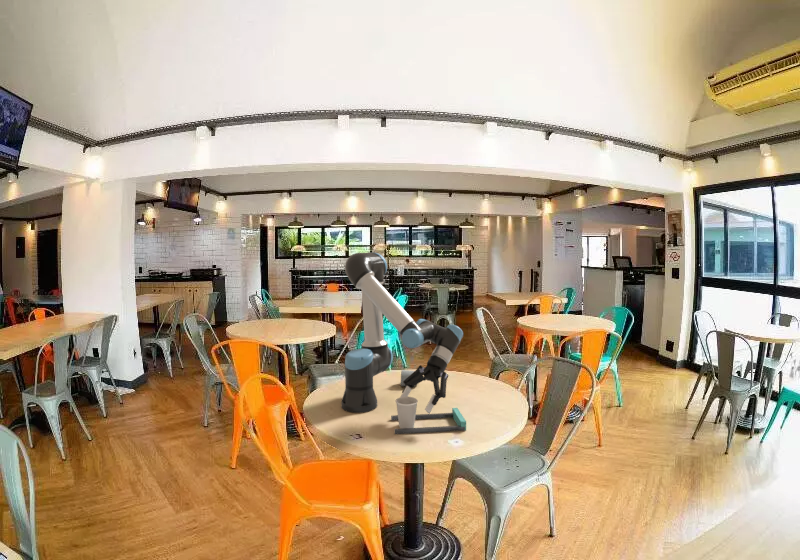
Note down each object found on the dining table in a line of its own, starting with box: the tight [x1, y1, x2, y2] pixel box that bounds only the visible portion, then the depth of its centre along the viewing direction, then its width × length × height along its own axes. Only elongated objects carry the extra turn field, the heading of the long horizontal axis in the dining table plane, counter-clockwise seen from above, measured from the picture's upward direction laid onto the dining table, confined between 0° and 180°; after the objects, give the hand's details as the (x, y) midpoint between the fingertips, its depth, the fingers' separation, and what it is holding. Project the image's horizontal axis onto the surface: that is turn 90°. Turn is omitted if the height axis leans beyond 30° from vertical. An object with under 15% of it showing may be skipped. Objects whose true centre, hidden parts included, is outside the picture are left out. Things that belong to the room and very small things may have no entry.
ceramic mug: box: [400, 369, 418, 387], centre depth 213 cm, size 11×8×8 cm
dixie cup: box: [395, 396, 419, 429], centre depth 165 cm, size 8×8×10 cm
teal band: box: [451, 407, 467, 432], centre depth 168 cm, size 2×13×4 cm, turn 7°
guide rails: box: [390, 412, 465, 435], centre depth 167 cm, size 26×13×2 cm, turn 97°
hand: (413, 406), depth 166 cm, fingers open, 13 cm apart
